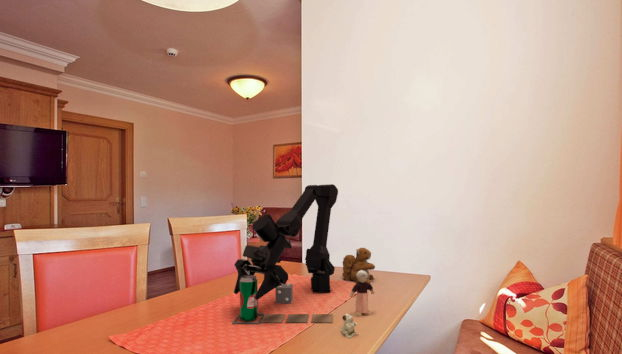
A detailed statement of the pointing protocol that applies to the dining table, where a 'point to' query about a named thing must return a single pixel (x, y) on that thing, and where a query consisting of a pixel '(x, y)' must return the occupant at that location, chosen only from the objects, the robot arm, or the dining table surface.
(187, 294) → the dining table surface
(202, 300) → the dining table surface
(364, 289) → the grandmother figurine
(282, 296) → the die
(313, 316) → the game track
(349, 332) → the toy dog
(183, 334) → the dining table surface
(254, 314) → the soda can
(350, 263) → the stuffed squirrel
